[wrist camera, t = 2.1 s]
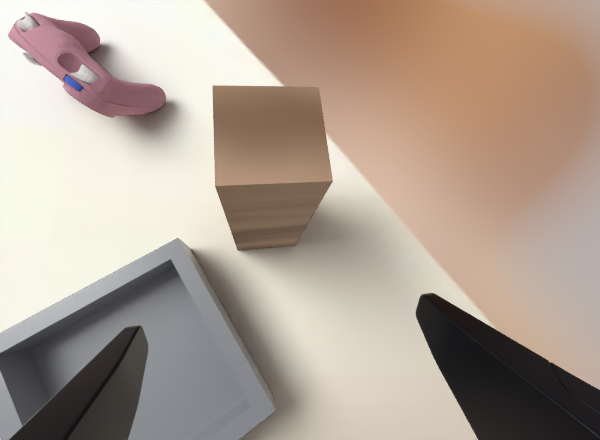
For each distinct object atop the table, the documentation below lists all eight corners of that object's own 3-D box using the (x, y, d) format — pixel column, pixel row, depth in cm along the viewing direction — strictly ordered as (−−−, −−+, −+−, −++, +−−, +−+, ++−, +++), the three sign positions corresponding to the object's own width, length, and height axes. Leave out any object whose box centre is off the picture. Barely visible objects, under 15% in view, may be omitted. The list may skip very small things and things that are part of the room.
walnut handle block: (294, 245, 23) (332, 181, 11) (237, 250, 22) (215, 185, 11) (289, 193, 24) (318, 87, 13) (235, 196, 24) (212, 85, 12)
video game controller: (71, 73, 27) (-26, 27, 20) (97, 31, 26) (7, -32, 19) (146, 140, 26) (72, 117, 19) (175, 98, 25) (109, 59, 18)
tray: (272, 393, 20) (275, 410, 17) (95, 528, 17) (55, 583, 13) (190, 248, 22) (178, 237, 19) (18, 343, 19) (-33, 350, 15)
